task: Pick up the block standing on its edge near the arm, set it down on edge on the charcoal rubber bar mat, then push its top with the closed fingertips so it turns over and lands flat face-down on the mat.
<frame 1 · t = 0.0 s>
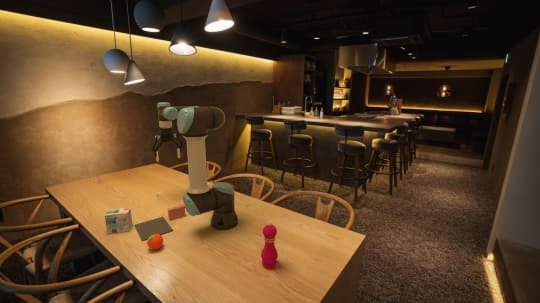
hand: (168, 159, 161), 28 cm above the table, fingers open, 13 cm apart
pink bowling pin: (269, 264, 107), on the table
clementine: (155, 249, 116), on the table
mat: (153, 228, 133), on the table
light bulb box: (120, 229, 131), on the table
block: (177, 217, 144), on the table
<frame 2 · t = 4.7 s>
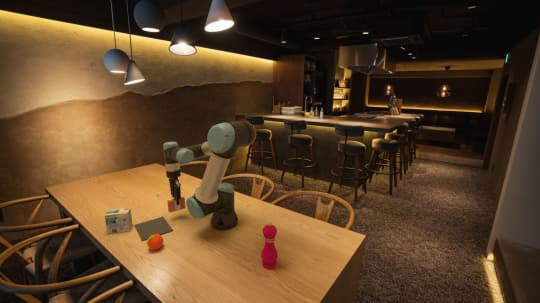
hand: (177, 208, 142), 6 cm above the table, fingers closed on block, 2 cm apart
block: (177, 209, 142), point 5 cm above the table, touching gripper
everything else where it was.
when the fingers open (1 cm above the table, at t = 8.1 s): block stays where it is, resting on mat.
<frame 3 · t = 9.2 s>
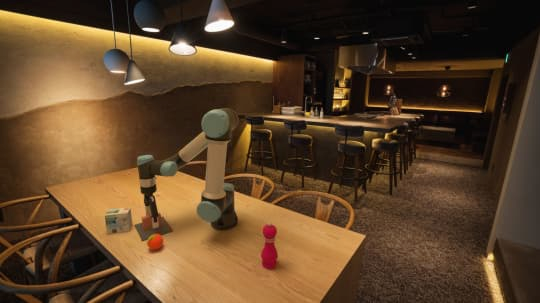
hand: (152, 222, 133), 3 cm above the table, fingers open, 13 cm apart
block: (152, 226, 133), point 1 cm above the table, touching mat
everything else where it was.
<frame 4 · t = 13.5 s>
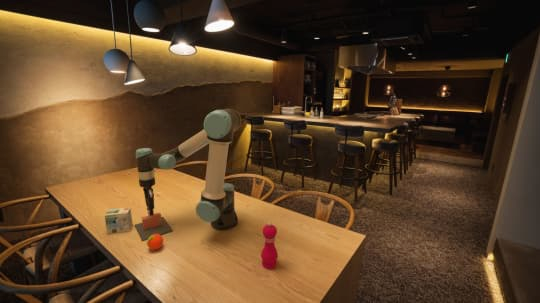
hand: (151, 219, 134), 4 cm above the table, fingers closed
block: (152, 226, 133), point 1 cm above the table, tilted 6°, touching gripper, mat
everything else where it was.
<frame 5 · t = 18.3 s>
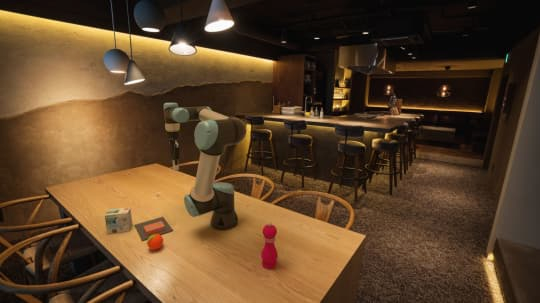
hand: (176, 169, 146), 26 cm above the table, fingers closed
block: (152, 225, 132), point 2 cm above the table, tilted 90°, touching mat
everything else where it was.
at the end: block tilted 90°; block inside the target area on the mat (0.2 cm from its centre), point 1.8 cm above the mat's base; the gripper is holding nothing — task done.
